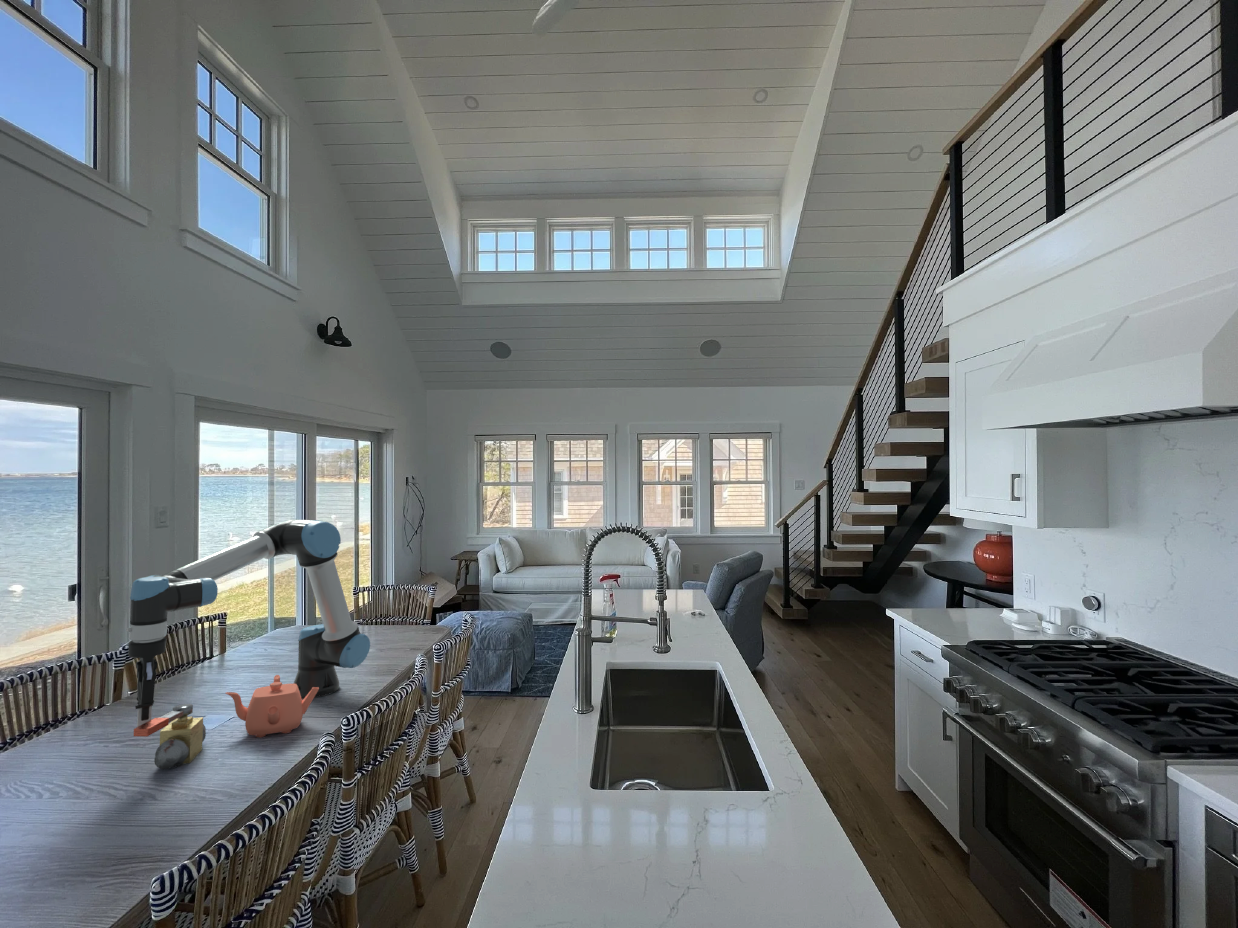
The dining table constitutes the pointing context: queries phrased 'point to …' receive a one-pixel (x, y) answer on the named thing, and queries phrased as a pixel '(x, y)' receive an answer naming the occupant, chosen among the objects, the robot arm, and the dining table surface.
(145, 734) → the lever
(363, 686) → the dining table surface
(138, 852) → the dining table surface
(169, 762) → the valve body
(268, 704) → the teapot
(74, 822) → the dining table surface
